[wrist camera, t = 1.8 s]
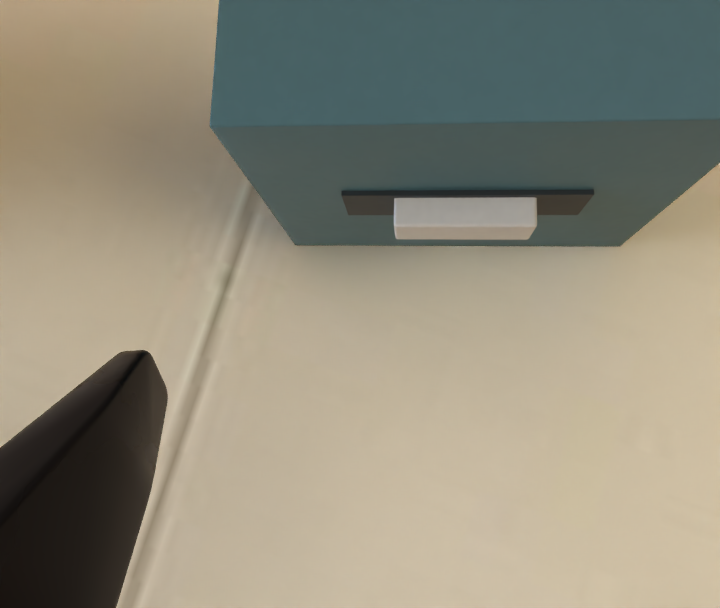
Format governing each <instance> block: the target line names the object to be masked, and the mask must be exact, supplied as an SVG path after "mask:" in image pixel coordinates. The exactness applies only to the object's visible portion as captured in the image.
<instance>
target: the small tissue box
mask: <svg viewBox="0 0 720 608" xmlns="http://www.w3.org/2000/svg"><path fill="white" fill-rule="evenodd" d="M210 128H211V129H212V130H213V132H214V133H215V134H216V136H217V137H218V139H219V140H220V141H221V143H222V144H223V145H224V147H225V148H226V150H227V151H228V152H229V154H230V155H231V157H232V158H233V159H234V161H235V162H236V163H237V165H238V166H239V168H240V169H241V170H242V172H243V173H244V175H245V176H246V177H247V179H248V180H249V181H250V183H251V184H252V186H253V187H254V188H255V190H256V191H257V193H258V194H259V195H260V197H261V198H262V199H263V201H264V202H265V204H266V205H267V206H268V208H269V209H270V210H271V212H272V213H273V215H274V216H275V217H276V219H277V220H278V222H279V223H280V224H281V226H282V227H283V228H284V230H285V231H286V233H287V234H288V235H289V237H290V238H291V240H292V241H293V242H294V244H295V245H389V246H621V245H622V244H623V243H624V242H626V241H627V240H628V239H629V238H630V237H632V236H633V235H634V234H635V233H636V232H638V231H639V230H640V229H641V228H642V227H643V226H645V225H646V224H647V223H648V222H649V221H651V220H652V219H653V218H654V217H655V216H657V215H658V214H659V213H660V212H661V211H663V210H664V209H665V208H666V207H667V206H669V205H670V204H671V203H672V202H673V201H675V200H676V199H677V198H678V197H679V196H680V195H682V194H683V193H684V192H685V191H686V190H688V189H689V188H690V187H691V186H692V185H694V184H695V183H696V182H697V181H698V180H700V179H701V178H702V177H703V176H704V175H706V174H707V173H708V172H709V171H710V170H712V169H713V168H714V167H715V166H716V165H717V164H719V163H720V0H219V10H218V23H217V37H216V50H215V63H214V76H213V90H212V103H211V116H210Z"/></svg>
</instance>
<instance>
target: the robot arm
mask: <svg viewBox="0 0 720 608" xmlns="http://www.w3.org/2000/svg"><path fill="white" fill-rule="evenodd" d="M167 399H168V396H167V389H166V386H165V383H164V381H163V379H162V377H161V375H160V372H159V370H158V368H157V366H156V364H155V361H154V359H153V357H152V356H151V354H150V353H149V352H148V351H145V350H136V351H124V352H120V353H119V354H117V355H116V356H115V357H113V358H112V359H111V360H110V361H108V362H107V363H106V364H105V365H103V366H102V367H101V368H100V369H98V370H97V371H96V372H95V373H93V374H92V375H91V376H90V377H88V378H87V379H86V380H85V381H83V382H82V383H81V384H80V385H78V386H77V387H76V388H75V389H73V390H72V391H71V392H70V393H68V394H67V395H66V396H65V397H63V398H62V399H61V400H60V401H58V402H57V403H56V404H55V405H53V406H52V407H51V408H50V409H48V410H47V411H46V412H45V413H43V414H42V415H41V416H40V417H38V418H37V419H36V420H35V421H33V422H32V423H31V424H30V425H28V426H27V427H26V428H24V429H23V430H22V431H21V432H19V433H18V434H17V435H16V436H14V437H13V438H12V439H11V440H9V441H8V442H7V443H6V444H4V445H3V446H2V447H1V448H0V608H116V606H117V603H118V599H119V596H120V593H121V589H122V586H123V583H124V579H125V576H126V573H127V569H128V566H129V563H130V559H131V556H132V553H133V549H134V546H135V543H136V539H137V536H138V533H139V530H140V526H141V523H142V520H143V516H144V513H145V510H146V506H147V503H148V499H149V495H150V492H151V488H152V483H153V478H154V473H155V468H156V462H157V457H158V451H159V445H160V440H161V434H162V429H163V423H164V418H165V412H166V407H167Z"/></svg>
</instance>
